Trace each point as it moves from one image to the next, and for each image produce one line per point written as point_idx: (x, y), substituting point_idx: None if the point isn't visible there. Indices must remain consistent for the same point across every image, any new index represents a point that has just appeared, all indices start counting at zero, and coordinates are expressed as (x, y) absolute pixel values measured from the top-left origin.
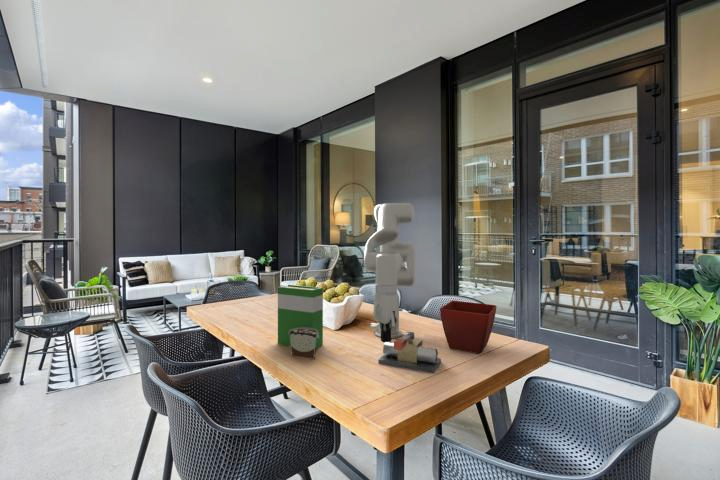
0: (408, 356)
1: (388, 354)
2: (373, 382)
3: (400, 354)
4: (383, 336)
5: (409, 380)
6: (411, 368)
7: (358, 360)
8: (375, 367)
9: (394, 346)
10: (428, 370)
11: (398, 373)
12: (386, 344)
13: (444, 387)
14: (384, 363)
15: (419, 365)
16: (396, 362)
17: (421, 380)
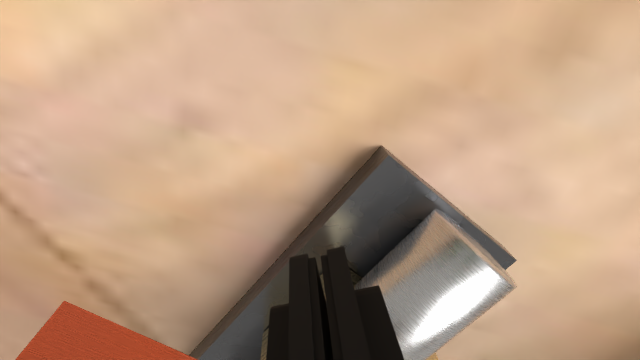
0: None
1: (407, 235)
2: (54, 19)
3: None
4: (292, 313)
5: (99, 242)
6: (249, 293)
7: (487, 16)
8: (321, 108)
9: (39, 332)
10: (197, 352)
11: (203, 215)
12: (456, 269)
13: None
14: (353, 179)
15: (236, 338)
16: (304, 246)
17: (101, 293)
